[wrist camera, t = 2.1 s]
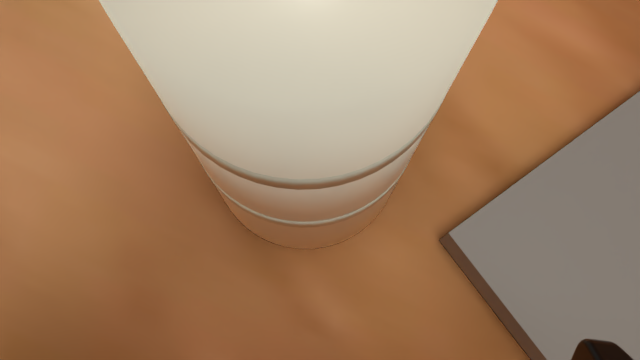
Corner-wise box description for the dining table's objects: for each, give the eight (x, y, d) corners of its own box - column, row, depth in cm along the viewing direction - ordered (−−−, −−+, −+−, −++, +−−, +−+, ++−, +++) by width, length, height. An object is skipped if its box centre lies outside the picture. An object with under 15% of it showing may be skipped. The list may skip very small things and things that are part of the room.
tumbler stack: (434, 178, 21) (608, -47, 9) (283, 287, 20) (240, 204, 8) (326, 42, 23) (345, -324, 10) (179, 138, 22) (-2, -138, 9)
